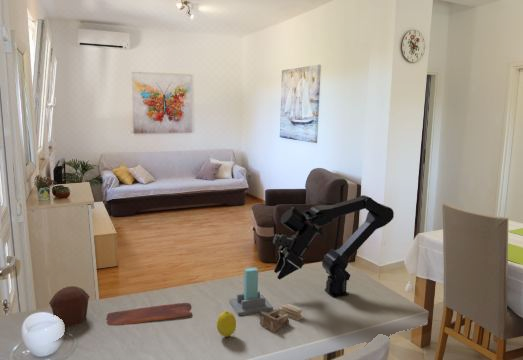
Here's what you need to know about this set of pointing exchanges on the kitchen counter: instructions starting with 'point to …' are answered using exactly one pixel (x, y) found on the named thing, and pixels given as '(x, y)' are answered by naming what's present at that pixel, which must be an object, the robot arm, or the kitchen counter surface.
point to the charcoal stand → (250, 304)
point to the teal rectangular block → (250, 283)
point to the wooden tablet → (149, 314)
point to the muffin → (70, 305)
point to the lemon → (226, 324)
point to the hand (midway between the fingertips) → (276, 275)
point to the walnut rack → (273, 320)
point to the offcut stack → (291, 311)
